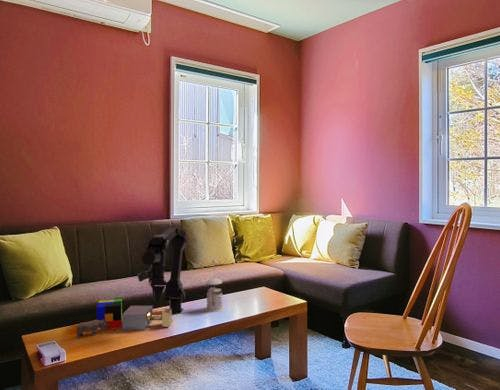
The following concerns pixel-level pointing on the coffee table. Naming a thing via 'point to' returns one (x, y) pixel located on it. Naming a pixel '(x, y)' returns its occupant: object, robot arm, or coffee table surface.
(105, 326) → the rhino figurine
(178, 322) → the coffee table surface
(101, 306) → the puzzle toy
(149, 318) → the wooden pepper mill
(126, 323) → the housing
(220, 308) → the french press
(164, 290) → the robot arm
